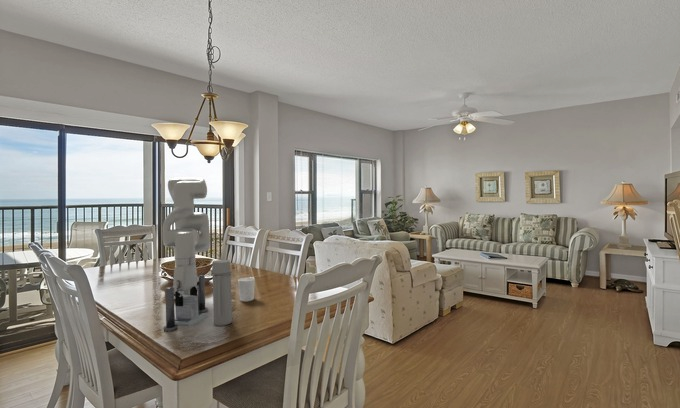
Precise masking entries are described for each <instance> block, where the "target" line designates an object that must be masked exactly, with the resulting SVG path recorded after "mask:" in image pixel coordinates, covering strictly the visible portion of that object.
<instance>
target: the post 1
mask: <svg viewBox="0 0 680 408" xmlns="http://www.w3.org/2000/svg"><path fill="white" fill-rule="evenodd" d="M164 294H165V295H164V300H165V325H164V326H163V330H164V331H163V332H165V331H166V332H165V333H167V332H168V331H171V332H175V331H177V330H178V329H179V325H178V324H175V317H176V312H175V299H174V287H173V286H170V287H165V288H164ZM174 330H175V331H174ZM168 333H169V332H168Z"/></svg>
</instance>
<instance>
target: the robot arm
mask: <svg viewBox="0 0 680 408" xmlns="http://www.w3.org/2000/svg"><path fill="white" fill-rule="evenodd" d="M167 190H168V192H169V195H170V197H171V199H172V202H173V210H172V211H170V212H169V213H168V214H167V216H166V217H165V218H164V221H163V223H162V244H163V245H164V247H166V248H172V249H173V254H174V255H173V256H174V269H173V284H172V287H174V307H175V306H180V307H182V306H183V296H182V295H193V296H198V285H199V279H200V277H198V272H197V265H196V253H206V252H208V251H210V248H211V240H210V239H211V235H210V233H211V232H210V220H209V216H208V214H207V213H205V212H195V202H194V201H195V199H197V200H198V199H200V200H202V199H205V198H206V197H207V195H208V187H207V181H206V180H205V179H204V178H202V177H174V178H171V179H168V181H167ZM173 224H174V225H175V229H174V228H173V229H171V226H172V225H173Z"/></svg>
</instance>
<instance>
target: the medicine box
mask: <svg viewBox="0 0 680 408" xmlns="http://www.w3.org/2000/svg"><path fill="white" fill-rule="evenodd" d="M182 296H183V306H182V307H180V306H175V305H174V309H175V317H176V318H182V319H194V318H196V317H197V316H199V314H198V296H193V295H182Z"/></svg>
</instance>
